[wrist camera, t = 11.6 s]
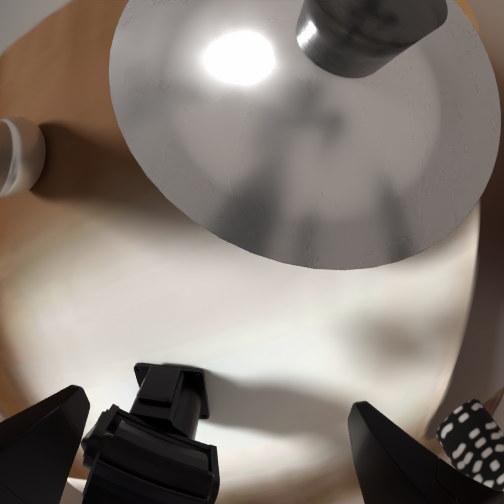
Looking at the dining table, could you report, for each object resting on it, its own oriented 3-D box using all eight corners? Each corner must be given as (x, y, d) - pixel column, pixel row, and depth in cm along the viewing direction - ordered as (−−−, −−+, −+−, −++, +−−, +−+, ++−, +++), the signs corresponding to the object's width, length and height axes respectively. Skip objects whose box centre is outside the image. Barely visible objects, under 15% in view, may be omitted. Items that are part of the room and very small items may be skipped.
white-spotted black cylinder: (479, 413, 27) (530, 492, 7) (438, 444, 28) (480, 530, 9) (479, 390, 25) (544, 480, 6) (433, 425, 26) (486, 528, 7)
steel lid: (482, 258, 12) (554, 297, 6) (122, 261, 12) (45, 322, 6) (450, -21, 7) (495, -54, 1) (148, -57, 7) (118, -112, 1)
